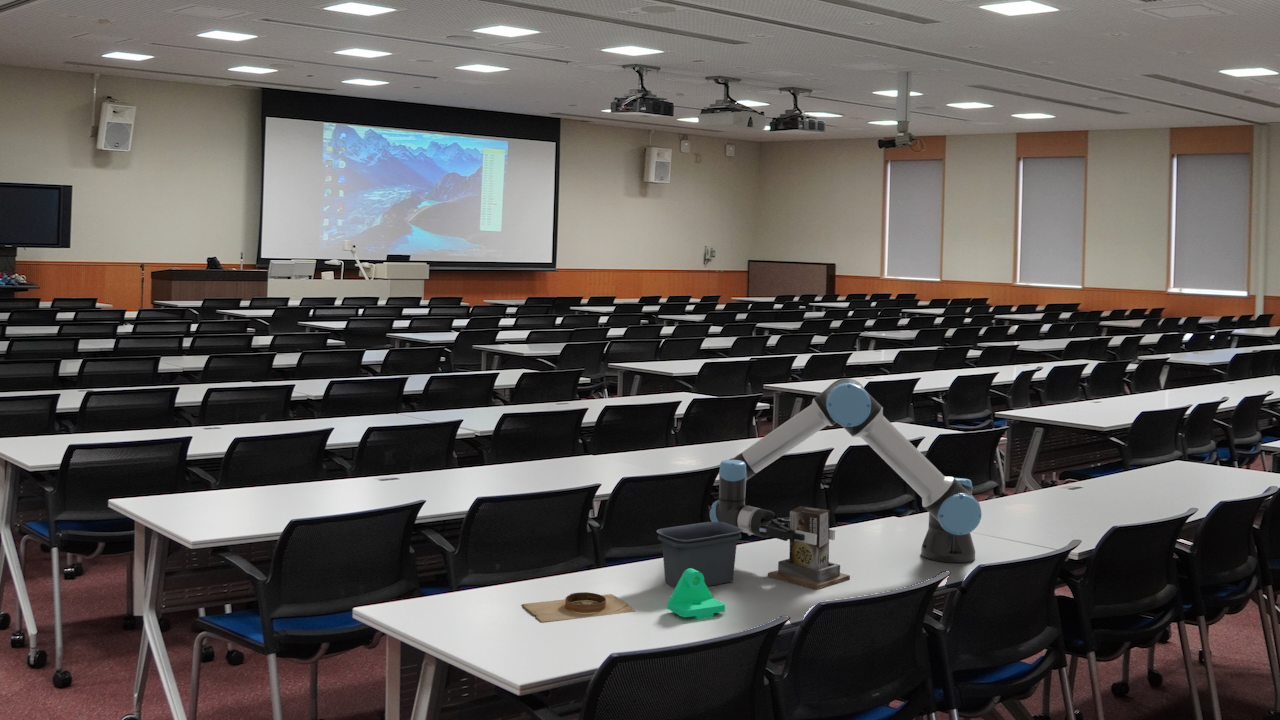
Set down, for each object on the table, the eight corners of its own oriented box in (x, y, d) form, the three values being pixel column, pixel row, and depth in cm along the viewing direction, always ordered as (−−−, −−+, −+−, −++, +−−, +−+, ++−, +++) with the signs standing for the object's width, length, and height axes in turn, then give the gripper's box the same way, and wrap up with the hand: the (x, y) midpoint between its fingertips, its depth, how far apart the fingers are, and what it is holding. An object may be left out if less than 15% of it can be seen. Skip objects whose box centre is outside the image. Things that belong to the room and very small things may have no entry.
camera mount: (683, 622, 272) (684, 579, 271) (667, 613, 278) (668, 571, 278) (726, 615, 277) (727, 573, 276) (709, 606, 284) (710, 565, 283)
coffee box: (829, 569, 311) (831, 509, 309) (818, 574, 305) (820, 514, 304) (798, 563, 316) (800, 505, 314) (787, 568, 310) (789, 509, 309)
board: (613, 596, 293) (613, 584, 292) (639, 613, 279) (639, 600, 279) (519, 607, 282) (519, 594, 282) (541, 626, 268) (542, 612, 268)
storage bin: (679, 595, 292) (680, 540, 291) (646, 580, 305) (647, 527, 304) (746, 584, 304) (748, 530, 302) (711, 570, 317) (713, 518, 315)
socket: (801, 566, 322) (802, 552, 321) (849, 578, 310) (850, 564, 310) (767, 576, 311) (768, 561, 311) (815, 589, 300) (816, 574, 299)
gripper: (780, 529, 330) (847, 545, 314) (733, 540, 316) (801, 557, 299) (781, 503, 329) (848, 517, 313) (734, 513, 315) (802, 529, 299)
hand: (825, 537), depth 306 cm, fingers closed on coffee box, 7 cm apart
